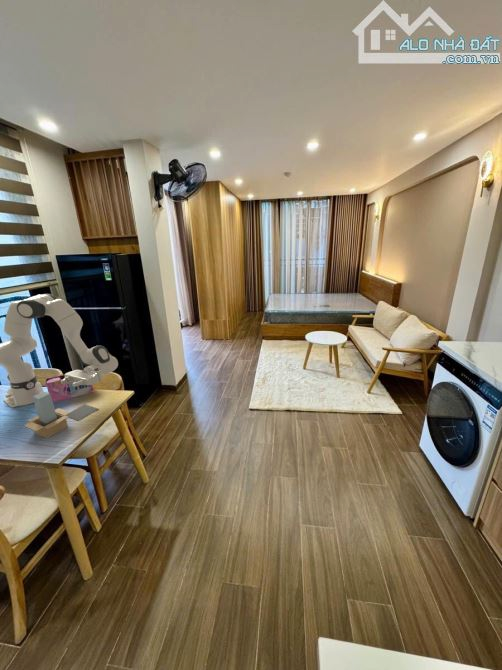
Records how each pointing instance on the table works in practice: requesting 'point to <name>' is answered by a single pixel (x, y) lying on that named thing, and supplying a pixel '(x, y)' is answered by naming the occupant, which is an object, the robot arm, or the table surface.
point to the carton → (51, 427)
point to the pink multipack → (65, 389)
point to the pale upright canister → (45, 408)
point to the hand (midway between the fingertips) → (67, 383)
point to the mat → (82, 412)
